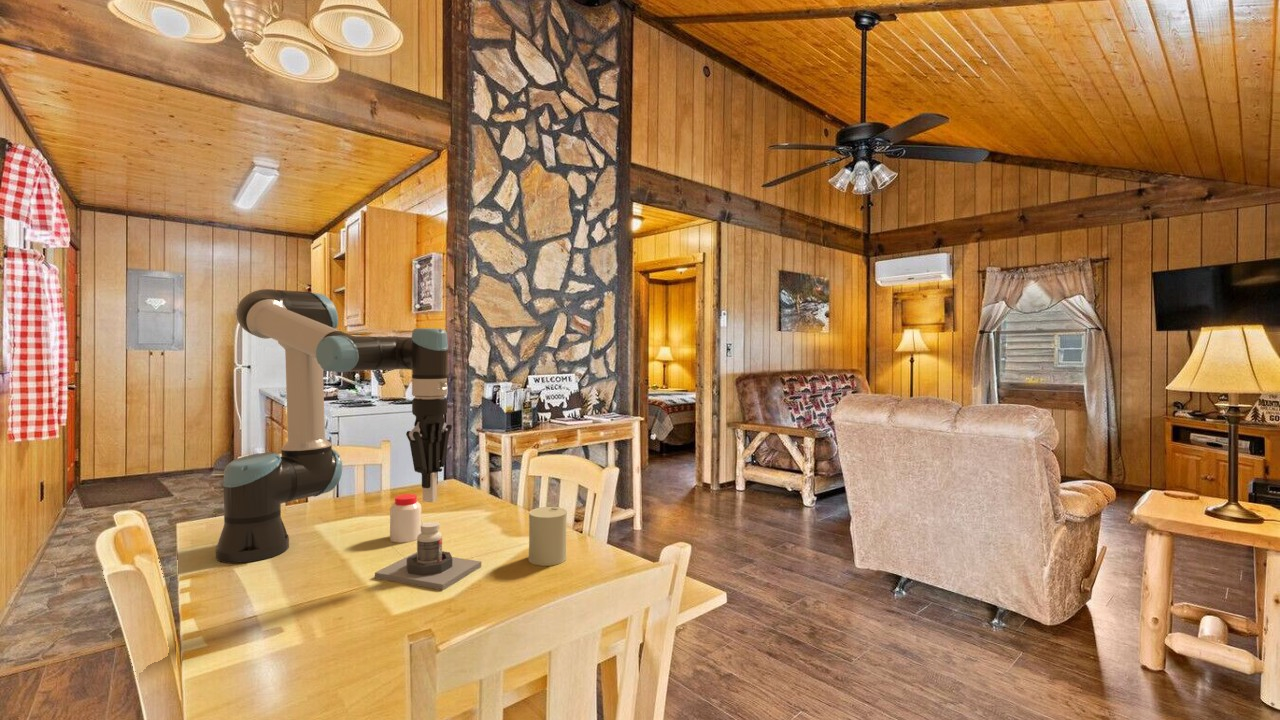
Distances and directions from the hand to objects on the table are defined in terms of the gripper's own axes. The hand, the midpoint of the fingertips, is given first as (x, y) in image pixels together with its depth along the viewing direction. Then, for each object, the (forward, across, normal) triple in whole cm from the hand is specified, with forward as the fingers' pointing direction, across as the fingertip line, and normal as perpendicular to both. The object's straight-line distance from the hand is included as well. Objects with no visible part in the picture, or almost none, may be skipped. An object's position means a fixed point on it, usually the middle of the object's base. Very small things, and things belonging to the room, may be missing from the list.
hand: (429, 500), depth 135 cm
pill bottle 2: (+15, 0, 0) cm, 15 cm away
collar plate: (+16, 0, 0) cm, 16 cm away
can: (+17, +17, -21) cm, 32 cm away
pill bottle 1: (+17, +17, +21) cm, 32 cm away
